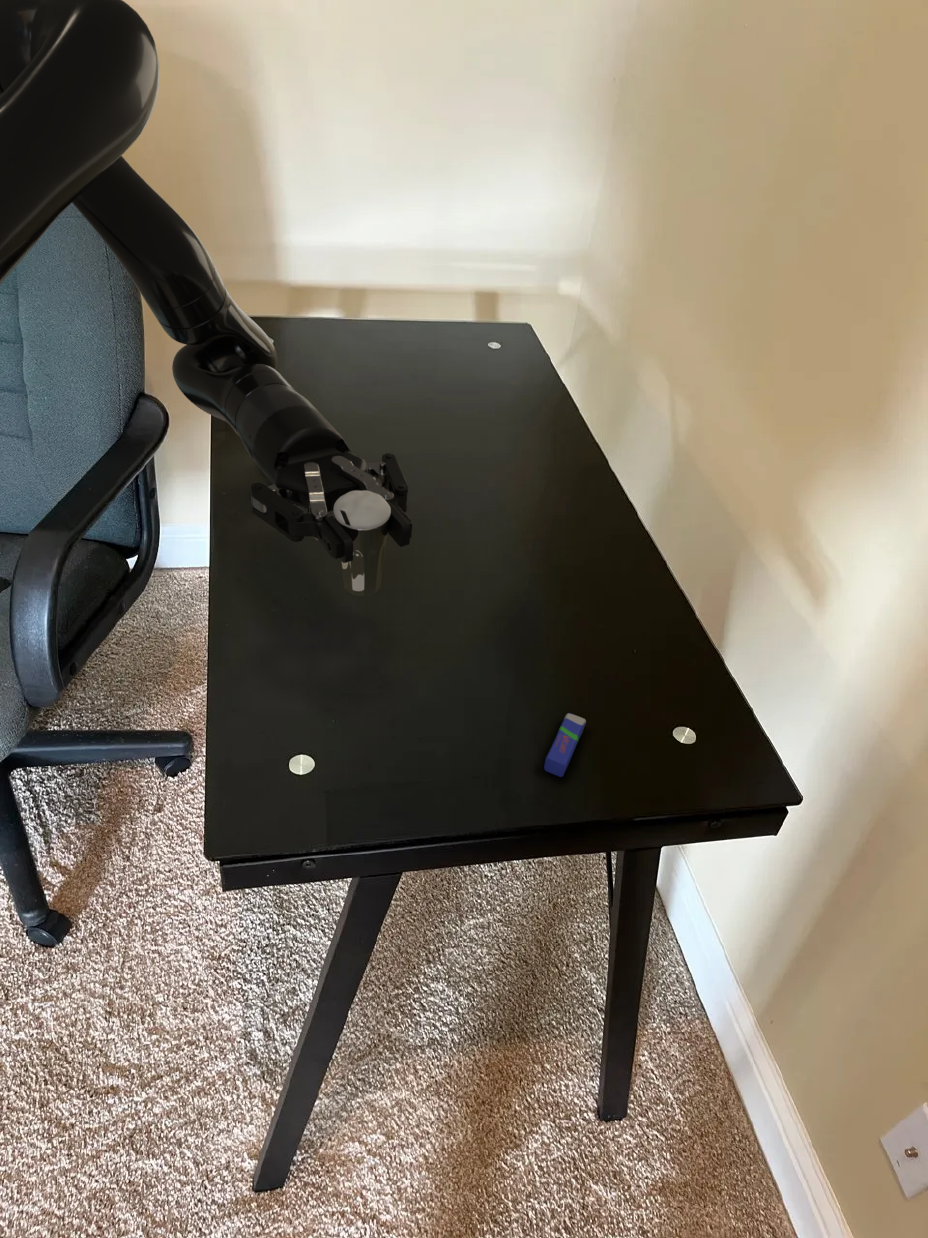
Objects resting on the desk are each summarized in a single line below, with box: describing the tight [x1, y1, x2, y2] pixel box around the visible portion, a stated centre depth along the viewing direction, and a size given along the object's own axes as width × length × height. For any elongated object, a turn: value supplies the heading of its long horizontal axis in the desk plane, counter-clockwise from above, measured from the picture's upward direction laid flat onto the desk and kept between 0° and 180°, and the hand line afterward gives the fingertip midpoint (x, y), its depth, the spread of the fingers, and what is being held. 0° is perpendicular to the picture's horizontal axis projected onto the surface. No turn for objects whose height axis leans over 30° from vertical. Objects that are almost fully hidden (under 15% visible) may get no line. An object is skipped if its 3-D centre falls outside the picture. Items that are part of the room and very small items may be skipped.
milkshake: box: [333, 490, 391, 598], centre depth 68 cm, size 4×5×10 cm
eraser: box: [543, 712, 587, 778], centre depth 74 cm, size 2×6×2 cm, turn 156°
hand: (378, 544), depth 66 cm, fingers closed on milkshake, 4 cm apart
